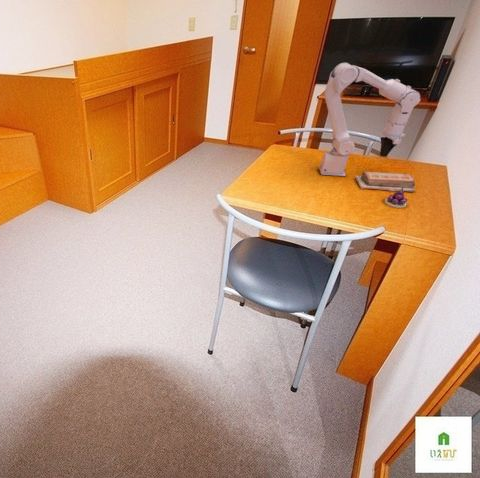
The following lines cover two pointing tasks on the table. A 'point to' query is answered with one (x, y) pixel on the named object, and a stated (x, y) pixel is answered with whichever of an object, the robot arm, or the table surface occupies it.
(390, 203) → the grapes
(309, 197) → the table surface
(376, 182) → the packaged product
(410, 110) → the robot arm
